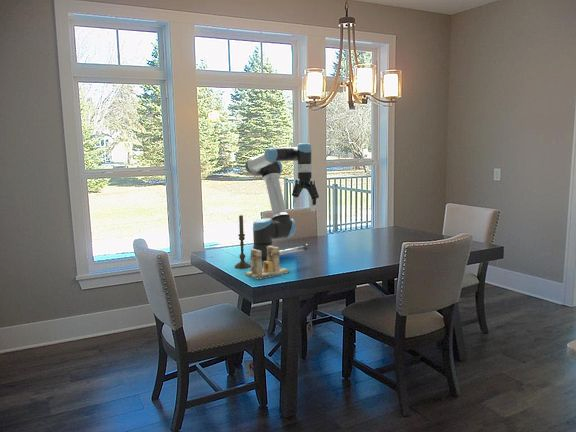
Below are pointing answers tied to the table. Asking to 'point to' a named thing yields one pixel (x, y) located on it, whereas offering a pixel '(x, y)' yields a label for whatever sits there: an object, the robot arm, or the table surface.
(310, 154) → the robot arm
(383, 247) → the table surface
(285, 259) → the table surface
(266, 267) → the spacer
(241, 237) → the candlestick holder
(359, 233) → the table surface
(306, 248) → the shaft
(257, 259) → the shaft stand
